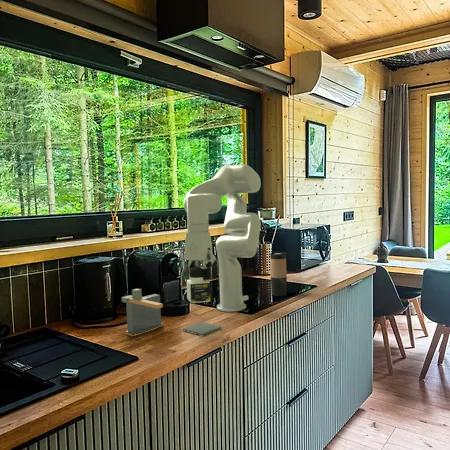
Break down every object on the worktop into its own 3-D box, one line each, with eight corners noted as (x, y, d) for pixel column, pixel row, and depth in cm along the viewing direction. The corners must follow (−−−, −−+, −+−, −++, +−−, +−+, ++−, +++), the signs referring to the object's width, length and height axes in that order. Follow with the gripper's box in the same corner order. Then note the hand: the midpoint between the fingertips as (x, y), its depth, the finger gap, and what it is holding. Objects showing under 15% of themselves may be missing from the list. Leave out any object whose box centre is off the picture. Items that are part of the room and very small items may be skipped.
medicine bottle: (191, 303, 149) (189, 269, 148) (187, 299, 156) (185, 266, 155) (210, 301, 151) (209, 268, 150) (206, 297, 158) (204, 265, 157)
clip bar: (130, 299, 153) (129, 286, 152) (164, 307, 140) (163, 293, 140) (121, 301, 150) (121, 288, 150) (156, 309, 138) (155, 295, 137)
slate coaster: (201, 323, 162) (201, 321, 162) (221, 328, 155) (221, 326, 155) (182, 330, 155) (182, 328, 154) (202, 336, 148) (202, 333, 148)
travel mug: (286, 292, 208) (285, 251, 207) (287, 296, 201) (286, 254, 199) (270, 292, 209) (269, 252, 208) (271, 296, 202) (270, 254, 200)
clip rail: (155, 324, 163) (154, 293, 162) (163, 326, 160) (162, 294, 159) (125, 334, 152) (123, 301, 151) (133, 337, 149) (131, 303, 148)
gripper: (174, 228, 155) (175, 277, 156) (208, 230, 144) (210, 282, 145) (188, 227, 161) (190, 274, 162) (223, 228, 149) (224, 279, 151)
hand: (199, 278), depth 154 cm, fingers closed on medicine bottle, 6 cm apart
